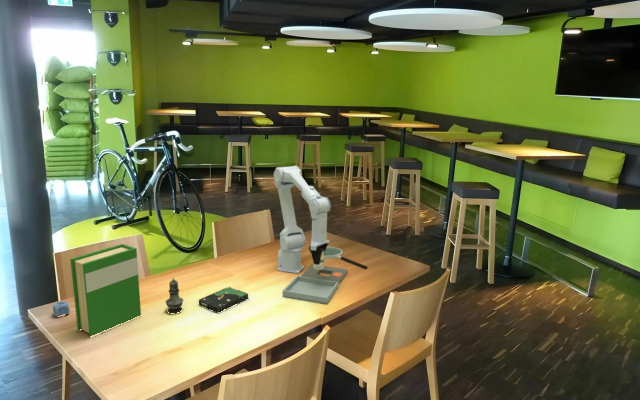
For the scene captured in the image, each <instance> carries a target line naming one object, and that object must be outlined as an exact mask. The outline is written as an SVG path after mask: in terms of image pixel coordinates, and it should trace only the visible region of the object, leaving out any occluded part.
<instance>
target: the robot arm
mask: <svg viewBox="0 0 640 400" xmlns="http://www.w3.org/2000/svg"><path fill="white" fill-rule="evenodd" d="M273 178H274V180H273V181H274V186H275V188H277V192H278V197H279V198H278V199H279V202H280V208H281V215H282V220H283V224H284V227H283V229H282V230H281V232H280V233H279V238H280V239H279V246H280V249H279V250H278V255H277V271H278V272H279V271H280V272H286V273H287V272H288V273H291V274H292V273H293V274H299V273H300V272H301V271H302V270H303V269H304V268H305V265H302V250H303V249H304V247H305V245H306V242H307V239H306V238H307V237H306V236H305V233H304V231H303V229H302V228H301V227H299V226H298V225H297V224H298V223H297V218H296V214H295V207H294V203H293V198H292V197H293V196H292V192H291V189H292V188H293V187H294V186H295V187H297V189H298V190H299V191H300V192H301V197H302V198H303V199H304V200H305V201H306V203H307V204H308V207H309V211H310V218H311V239H310V241H311V242H310V243H311V244H310V246H308V250H309V251H310V252H309V253H310V255H311V257H312V263H313V264H317V265H319V264H320V259H321V254H322V252H323V250H324V254H325V250H326V248H327V246H329V243H330V240H329V239H328V238H327V236H328V235H327V229H328V228H327V227H328V226H327V225H328V213H329V212H330V211H331V201H330V200H329V198H328V197H327V196H321V194H320V193H319V192H318V191H317V190H316V189H315V187H314V186H313V185H309V184H308V183H307V181H306V180H305V179H304V178H303V176H302V170H301V169H300V167H299V166H298V165H293V166H277V167H276V168H275V170H274V172H273Z"/></svg>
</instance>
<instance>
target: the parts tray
mask: <svg viewBox="0 0 640 400" xmlns="http://www.w3.org/2000/svg"><path fill="white" fill-rule="evenodd" d="M338 289H339V285H338V282H334V281H328V280H322V279H315V278H309V277H302V276H301V275H296V276H295V278H293V279H292V280H291V281H290V282H289V284H287V285H286V286H285V288H284V289H283V290H282V298H286V299H293V300H298V301H305V302H311V303H316V304H320V305H321V304H322V305H328V304H329V302H330V301H331V300H332V298H333V296H334V295H335V293H336V292H337V290H338Z"/></svg>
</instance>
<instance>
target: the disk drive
mask: <svg viewBox="0 0 640 400" xmlns="http://www.w3.org/2000/svg"><path fill="white" fill-rule="evenodd" d="M246 299H248V300H249V293H247V292H245V291H243V290H242V291H241V290H240V289H235V288H234V287H233V288H232V287H231V286H229V287H225V288H221V289H220V290H218V291H216V292H213V293H211V294H209V295H207V296H203V297H202V298H201V297H200V299H198V305H199V306H200V305H201V306H200V307H202V306H204V307H206V308H208V309H207V310H209V309H211V310H213V311H216V312H221V311H223V310H224V309H227V308H229V307H231V306H233V305H235V304H237V305H239V304H241V303H243V302H242V301H244V300H245V301H247V300H246ZM245 301H244V302H245ZM240 302H241V303H240ZM238 303H239V304H238ZM235 306H236V305H235ZM204 307H203V308H204ZM233 307H234V306H233ZM206 308H205V309H206ZM231 308H232V307H231ZM229 309H230V308H229ZM211 310H210V311H211ZM227 310H228V309H227ZM213 311H212V312H213ZM216 312H215V313H216ZM223 312H224V311H223ZM221 313H222V312H221Z"/></svg>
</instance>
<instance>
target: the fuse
mask: <svg viewBox="0 0 640 400" xmlns="http://www.w3.org/2000/svg"><path fill="white" fill-rule="evenodd" d="M324 263H325V258H324V250H323V252H322V254H321V259H320V264H319V265H317V264H314V263H312V264H313V269H315V270H322V269H324V266H325V264H324Z"/></svg>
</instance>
